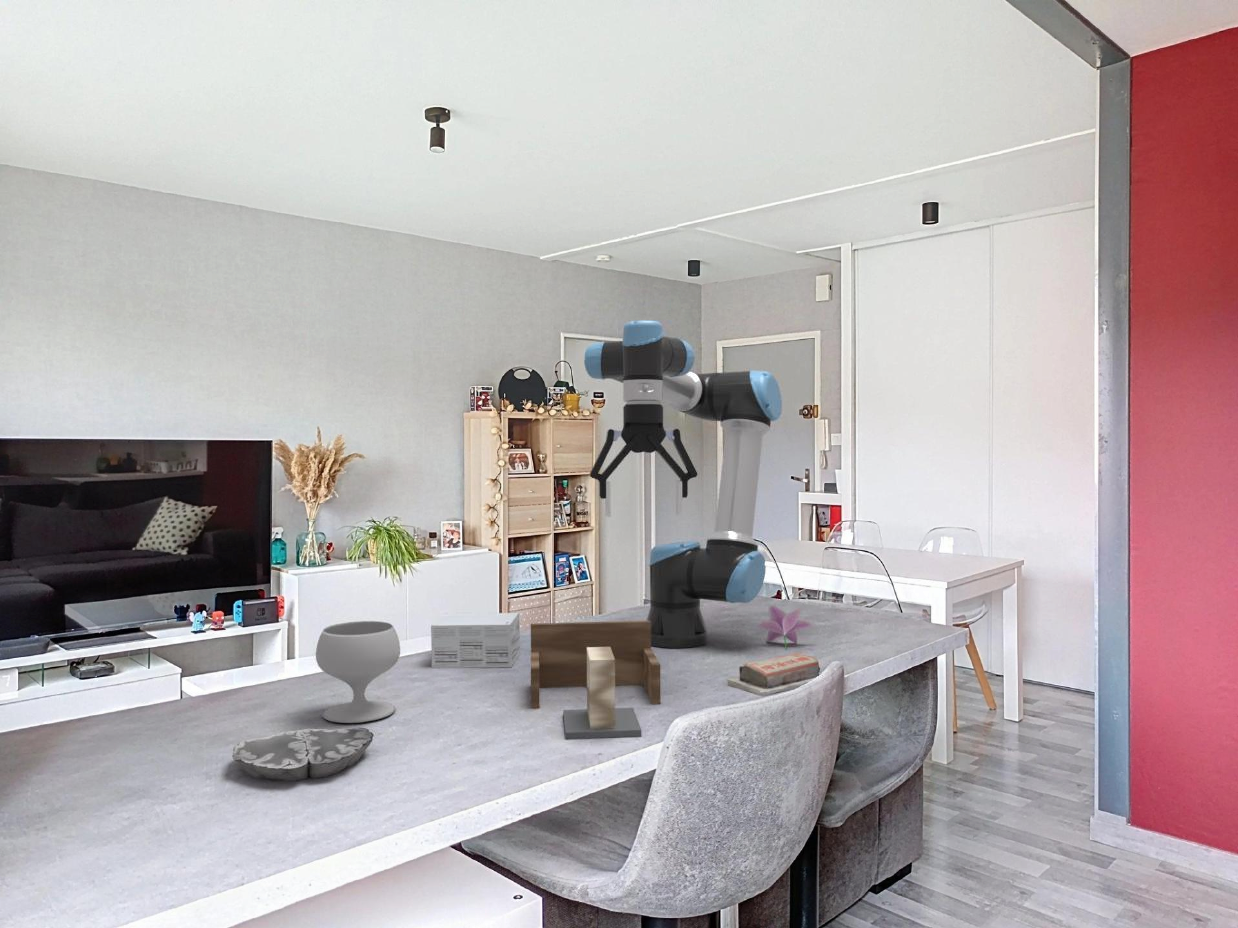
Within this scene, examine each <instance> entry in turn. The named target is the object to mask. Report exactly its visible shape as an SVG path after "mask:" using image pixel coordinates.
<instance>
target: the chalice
mask: <svg viewBox="0 0 1238 928" xmlns="http://www.w3.org/2000/svg"><path fill="white" fill-rule="evenodd" d="M400 655H401V645H400V640H399V636H398V633H397V631H396V628H395V627H394V625H392V623H389V622H387V621H386V622H384V621H375V620H360V621H359V620H358V621H348V622H347V621H346V622H340V623H336V624H332V625H329V626H326V627H325V628H324V629H323V630H322V632H321V634H320V635H319V638H318V641H317V644H316V649H315V660H316V661H315V662H316V663H317V666H318V668H320V670H321V671H322V672H324V673H325V674H327V675H329V676H331V677H333V678H335V679H338V680H339V681H341V682H344V683H345V684H347V685H348V686H349V688H351V690H352V693H353V698H352V700H351V701H350V702H344V703H340V704H336V705H333V706H331V707H329V708H327V709H326V710H325V711H323V712H322V714H321V715H322V718H323V719H324V720H327V721H329V722H332V723H340V724H342V723H343V724H355V723H365V722H366V723H367V722H371V721H373V722H374V721H376V720H380V719H384V718H386V717H389V716H390V715H393V713H395V711H396V710H397V709H396V707H395V706H394V705H393V704H392V703H389V702H385V701H380V700H367V698H366V695H365V693H366V689H367V688H368V685H369V684H370V683H371V682H372V681H374V680H375V679H376V678H378V677H380V676H381V675H383V674H384V673H386V672H388V671H389V670H391V669H392V668H394V666H395V665H396V664H397V663H398V661H399V658H400Z"/></svg>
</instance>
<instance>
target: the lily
mask: <svg viewBox="0 0 1238 928" xmlns="http://www.w3.org/2000/svg"><path fill="white" fill-rule="evenodd" d="M800 614H801V609H800V608H798V609H794V610H792V611H791V612H788V613H786V612H785V611H784V610H783V609H782V608H779V607H778V606H776V605H774V604H769V605H768V617H769V620H765V621H762V622H759V623H757V624H756V627H759V628H761V629H765V630H767V632H766V633H767V634H766V637H765V638H766V639H765V640H766V642H767V643H770V642H773V641H775V640H777V639H779V638H781V637H783V641H784V648H785V651H787V650H788V649H787V641H786V639H788V640H789V641H790V642H792V643H794V644H797V643H798V634H797V633H798V632H799V631H802V630H804V629H809V628H812V627H815V625H816V624H815V623H813V622H812V621H809V620H806V619H803V618H799V617H800Z"/></svg>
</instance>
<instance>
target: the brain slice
mask: <svg viewBox="0 0 1238 928" xmlns="http://www.w3.org/2000/svg"><path fill="white" fill-rule="evenodd" d="M374 735H375V734H374V733H373V732H371V731H370V729H368V728H365V727H346V728H337V729H336V728H335V729H327V728H325V729H323V728H318V729H317V728H306V729H305V728H304V729H301V730H300V729H298V730H290V731H284V732H280V733H276V734H273V735H268V736H265V737H258V738H251V739H246V740H242V741H239V742H238V743H237V744H236V745H235V746H234V747H233V749H232V750H233V751H232V760H233V761H234V762H237V764H238V766H239V768H240V770H242V771H243V772H244V773H245V774H246V775H248V776H251V777H252V778H254V779H255V778H256V779H263V778H265V779H269V780H270V779H271V780H277V781H279V780H281V781H285V782H294V781H295V782H296V781H304V780H306V779H307V778H308V777H310V778H312V779H320V778H321V779H322V778H325V777H328V776H332V775H334V774H337V773H340V772H341V771H343V770H344V769H346V768H350V767H352V766H354V764H356V763H357V762H358V761H359V760H360V758H361V757H362V755H363V754H364V753H365V751H366V750H367V749H368V748H369V746H370V745H371V743H373V737H374Z"/></svg>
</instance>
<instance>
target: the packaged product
mask: <svg viewBox="0 0 1238 928" xmlns="http://www.w3.org/2000/svg"><path fill="white" fill-rule="evenodd" d="M738 671H739V675H736V676H734V677H733V676H732V677H728V678H726V681H727V686H730V687H733V688H736V689H738V690H743V691H746V692H750V693H752V694H756V695H758V696H761V697H767V696H771V695H774V694H777V693H783V692H787V691H792V690H794V689H793V688H796V689H798V688H797V687H800V686H801V685H804V684H806V683H808V682H809V681H812V679H814V678H816V677H817V676H819V675H820V674H819V673H820V672H821V667H820V665H819V660H818V659H817V658H816V657H814V656H810V655H806V654H802V653H801V654H800V653H792V654H788V655H782V656H776V657H772V658H766V659H762V660H757V661H753V662H752V661H751V662H746V663H743V664H741V665H740V666H739V670H738ZM791 689H792V690H791Z"/></svg>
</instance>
